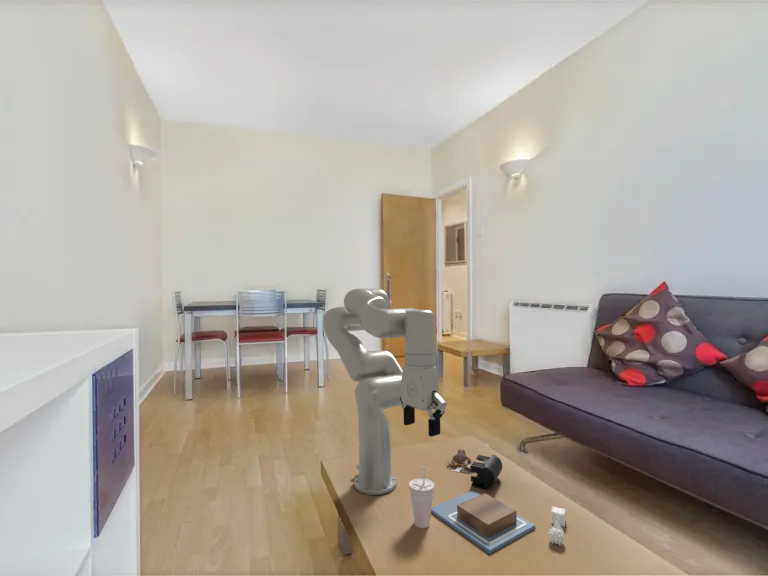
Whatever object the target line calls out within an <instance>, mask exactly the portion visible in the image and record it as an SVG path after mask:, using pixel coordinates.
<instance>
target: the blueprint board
mask: <svg viewBox="0 0 768 576" xmlns="http://www.w3.org/2000/svg"><path fill="white" fill-rule="evenodd" d="M479 495H482V494H480V493H479V492H477V491H475V490H470V491H468V492H465V493H463V494H461V495H458V496H456V497H454V498H451V499H449V500H446V501H443V502H441V503H439V504H437V505H434V506H432V508H431V514H433V515H434V516H435V517H437V518H438V519H440V520H441V521H442V522H444V523H446V524H447V525H448V526H450V527H451V528H453V529H454V530H455V531H457V532H458V533H459V534H461V535H462V536H464V537H465V538H467V539H468V540H470V541H471V542H472V543H473V544H475V545H476V546H478V547H480V548H481V549H482V550H484V551H485V552H486V553H488V554H490V555H491V554H492V553H494V552H496V551H497V550H500V549H501V548H503V547H505V546H507V545H509V544H510V543H512V542H513V540H514V541H515V540H517V539H519V538H520V537H522V536H524V535H527V534H528V533H530V532H531V531H533V530H534V529H536V524H535V523H533V522H531V521H528V520H527V519H525V518H523V517H521V516H520V515H518V514H517V523H516V524H514V525H512V526H510V527H508V528H506V529H505V530H503V531H501V532H499V533H497V534H495V535H493V536H491V537H489V538H488V537H486V536H485V535H483V534H482V533H480V532H479V531H477V530H476V529H474V528H473V527H471V526H470V525H468V524H467V523H465V522H464V521H462V520H461V519H459V518H458V517H457V505H459V504H461V503H463V502H466V501H468V500H470V499H472V498H475V497H477V496H479ZM504 545H505V546H504Z"/></svg>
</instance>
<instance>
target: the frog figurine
mask: <svg viewBox="0 0 768 576" xmlns="http://www.w3.org/2000/svg"><path fill="white" fill-rule="evenodd" d="M446 462H447V466H448V468H447V469H448V470H450V471H451V472H454V473H461V472H462V473H463V472H464V473H466V474H475V473H474V472H471V468H470V467H469V466H471V464H472V463H473V461H472V459H471V457H469V456H467V455H466V450H465V449H458V450H457V453H456V454H455V455H453V456H452V459H451V461H450V462H449V461H446ZM456 466H457V467H458V468H459V469H458V468H457V467H456ZM453 467H454V468H453ZM455 467H456V468H455ZM453 469H454V470H453ZM460 471H461V472H460Z"/></svg>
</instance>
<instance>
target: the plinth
mask: <svg viewBox="0 0 768 576" xmlns="http://www.w3.org/2000/svg"><path fill="white" fill-rule="evenodd" d="M517 515H518V514H517V510H516V509H514V508H513V507H511V506H509V505H508V504H505V503H503V502H501V501H500V500H498V499H496V498H494V497H492V496H491V495H489V494H487V493H482V494H481V495H479V496H477V497H475V498H472V499H470V500H468V501H466V502H463V503H461V504H459V505H457V517H458V518H459V519H461V520H462V521H464V522H465V523H467V524H468V525H470V526H471V527H473V528H474V529H476V530H477V531H479V532H480V533H482V534H483V535H485V536H486V537H488V538H489V537H491V536H493V535H495V534H497V533H499V532H501V531H503V530H505V529H506V528H508V527H510V526H512V525H514V524H516V523H517Z"/></svg>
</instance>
